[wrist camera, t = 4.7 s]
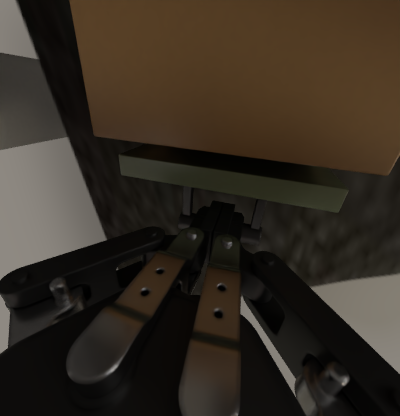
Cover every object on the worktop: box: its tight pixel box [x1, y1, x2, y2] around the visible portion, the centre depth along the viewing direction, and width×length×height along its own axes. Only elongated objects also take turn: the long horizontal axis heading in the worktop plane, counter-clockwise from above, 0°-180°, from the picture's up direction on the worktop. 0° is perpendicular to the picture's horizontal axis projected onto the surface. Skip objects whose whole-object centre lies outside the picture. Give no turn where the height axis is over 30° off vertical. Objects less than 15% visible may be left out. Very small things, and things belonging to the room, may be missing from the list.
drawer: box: [119, 143, 349, 246], centre depth 12 cm, size 18×11×8 cm, turn 176°
